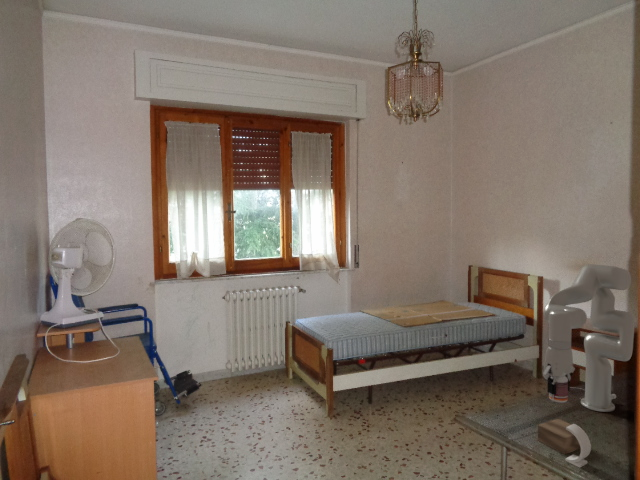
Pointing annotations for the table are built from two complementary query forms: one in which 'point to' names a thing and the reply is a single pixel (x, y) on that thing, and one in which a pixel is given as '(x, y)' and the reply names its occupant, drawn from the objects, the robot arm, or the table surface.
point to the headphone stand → (584, 446)
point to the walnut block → (558, 436)
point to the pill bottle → (560, 389)
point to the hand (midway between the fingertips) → (558, 391)
